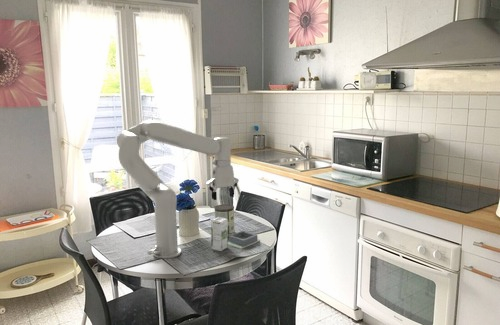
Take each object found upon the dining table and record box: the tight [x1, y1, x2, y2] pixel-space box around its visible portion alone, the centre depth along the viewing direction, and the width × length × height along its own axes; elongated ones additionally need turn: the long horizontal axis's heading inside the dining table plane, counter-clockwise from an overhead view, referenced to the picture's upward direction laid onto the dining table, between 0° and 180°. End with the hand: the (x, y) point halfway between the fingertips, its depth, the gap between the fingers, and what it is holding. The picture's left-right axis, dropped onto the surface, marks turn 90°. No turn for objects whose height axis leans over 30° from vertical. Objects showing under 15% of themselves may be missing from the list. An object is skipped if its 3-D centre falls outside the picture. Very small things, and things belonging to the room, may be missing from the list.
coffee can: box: [213, 203, 236, 237], centre depth 216 cm, size 10×10×14 cm
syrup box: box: [210, 217, 229, 252], centre depth 195 cm, size 6×6×14 cm
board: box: [228, 238, 261, 250], centre depth 203 cm, size 14×10×1 cm
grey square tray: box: [228, 230, 259, 247], centre depth 203 cm, size 10×10×3 cm
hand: (223, 198), depth 199 cm, fingers open, 9 cm apart
